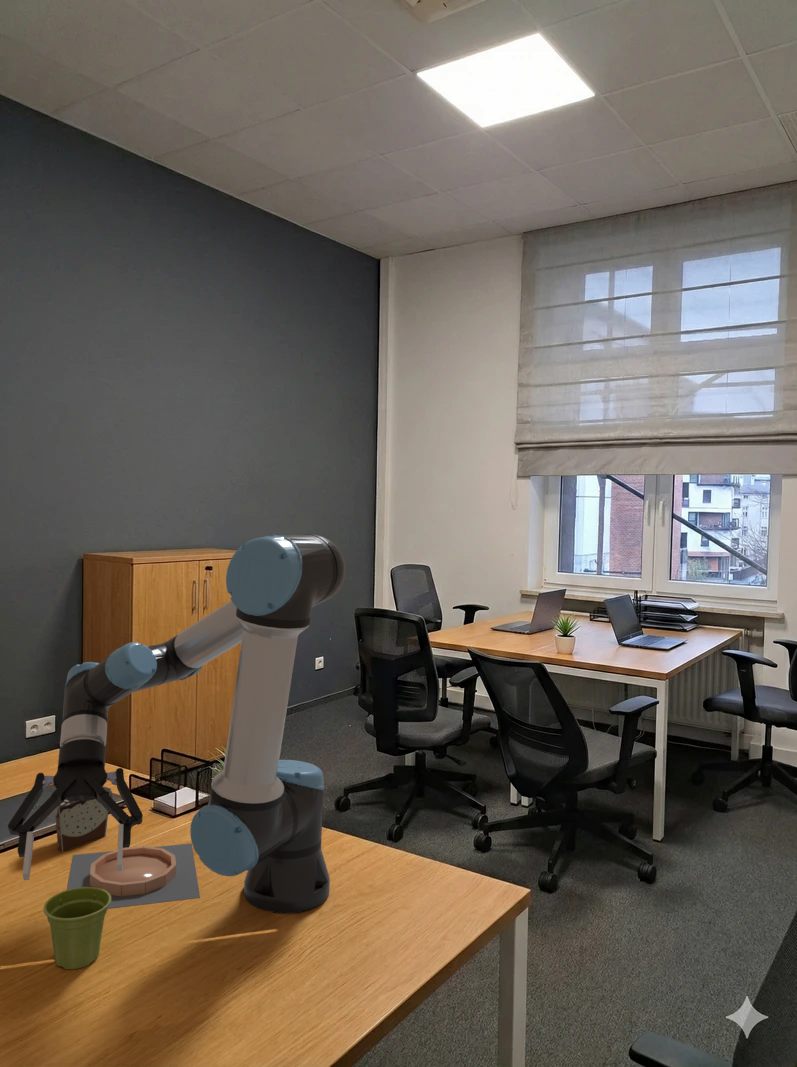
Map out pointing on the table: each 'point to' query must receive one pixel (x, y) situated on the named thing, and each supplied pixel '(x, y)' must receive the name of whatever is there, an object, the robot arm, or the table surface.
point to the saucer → (133, 871)
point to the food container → (80, 822)
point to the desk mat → (175, 890)
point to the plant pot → (77, 925)
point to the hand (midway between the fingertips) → (73, 872)
